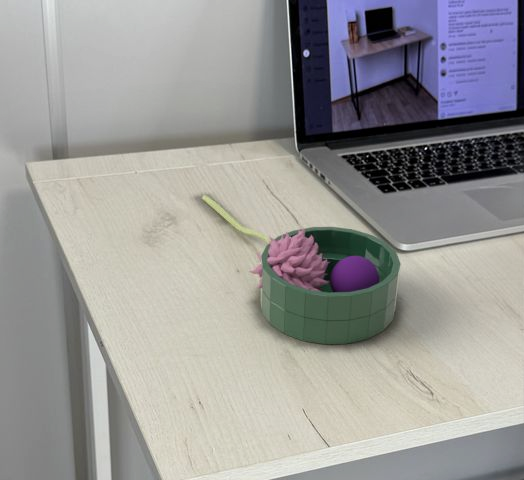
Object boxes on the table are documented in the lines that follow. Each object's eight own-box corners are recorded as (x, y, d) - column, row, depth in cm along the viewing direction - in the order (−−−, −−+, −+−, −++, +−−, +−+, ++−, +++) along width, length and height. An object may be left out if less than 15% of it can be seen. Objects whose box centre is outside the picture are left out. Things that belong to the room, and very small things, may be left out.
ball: (330, 290, 75) (377, 294, 75) (327, 310, 72) (376, 314, 71) (333, 246, 73) (381, 250, 73) (330, 265, 70) (381, 269, 69)
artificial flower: (166, 235, 90) (272, 329, 70) (170, 167, 87) (282, 245, 67) (226, 233, 93) (344, 323, 73) (232, 167, 90) (357, 242, 70)
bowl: (401, 286, 78) (407, 235, 75) (384, 358, 69) (390, 305, 66) (278, 269, 80) (279, 219, 77) (246, 337, 71) (246, 284, 68)
